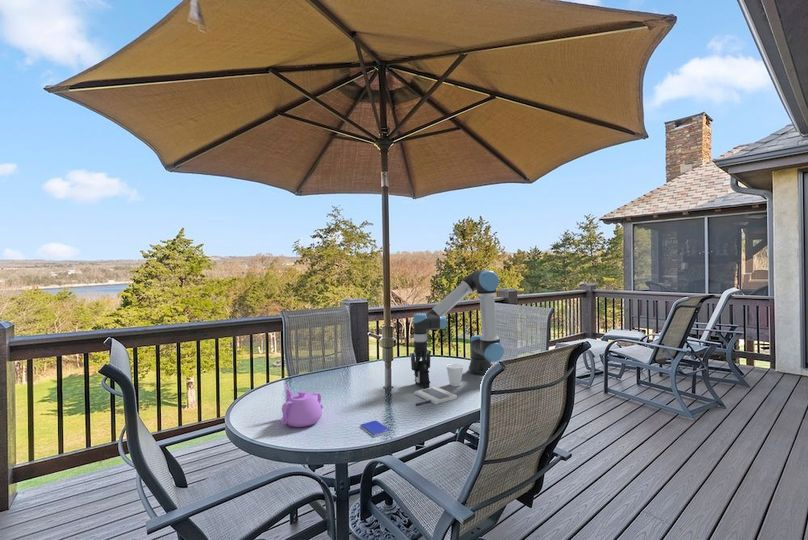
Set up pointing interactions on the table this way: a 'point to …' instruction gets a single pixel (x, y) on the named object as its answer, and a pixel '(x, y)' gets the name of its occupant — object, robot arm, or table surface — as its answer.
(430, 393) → the charging pad
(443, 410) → the table surface
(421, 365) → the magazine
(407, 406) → the table surface
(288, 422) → the teapot
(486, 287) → the robot arm
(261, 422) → the table surface
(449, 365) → the cup
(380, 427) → the hard drive
